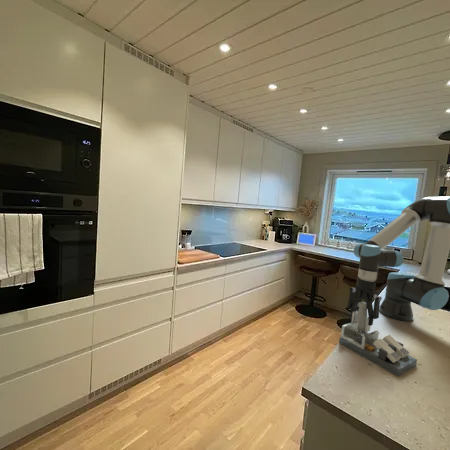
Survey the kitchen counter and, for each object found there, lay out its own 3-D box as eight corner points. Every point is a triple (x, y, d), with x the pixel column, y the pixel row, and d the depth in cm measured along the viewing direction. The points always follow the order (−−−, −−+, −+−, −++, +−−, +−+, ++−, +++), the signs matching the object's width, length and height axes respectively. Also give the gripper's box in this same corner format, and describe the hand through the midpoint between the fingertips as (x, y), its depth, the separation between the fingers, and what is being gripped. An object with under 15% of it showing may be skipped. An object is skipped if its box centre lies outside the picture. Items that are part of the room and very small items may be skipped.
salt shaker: (354, 325, 120) (358, 299, 119) (368, 329, 117) (372, 302, 115) (351, 329, 116) (355, 302, 115) (365, 334, 112) (369, 306, 111)
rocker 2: (387, 337, 99) (389, 334, 98) (407, 355, 93) (410, 352, 92) (382, 339, 97) (385, 336, 96) (402, 358, 91) (405, 355, 90)
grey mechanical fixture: (357, 336, 110) (359, 319, 109) (416, 366, 91) (419, 346, 91) (339, 342, 103) (341, 325, 102) (398, 376, 85) (401, 355, 84)
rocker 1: (378, 341, 95) (380, 338, 95) (398, 360, 89) (401, 356, 88) (372, 343, 93) (375, 340, 93) (393, 362, 87) (396, 359, 87)
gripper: (342, 273, 120) (336, 320, 122) (384, 286, 104) (376, 340, 106) (352, 272, 124) (346, 317, 126) (393, 284, 108) (386, 336, 110)
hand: (360, 327), depth 116 cm, fingers closed on salt shaker, 6 cm apart
